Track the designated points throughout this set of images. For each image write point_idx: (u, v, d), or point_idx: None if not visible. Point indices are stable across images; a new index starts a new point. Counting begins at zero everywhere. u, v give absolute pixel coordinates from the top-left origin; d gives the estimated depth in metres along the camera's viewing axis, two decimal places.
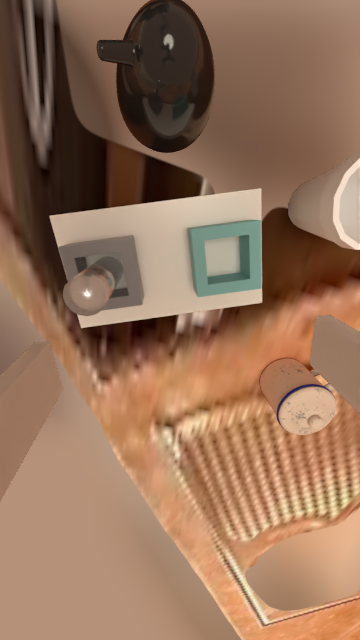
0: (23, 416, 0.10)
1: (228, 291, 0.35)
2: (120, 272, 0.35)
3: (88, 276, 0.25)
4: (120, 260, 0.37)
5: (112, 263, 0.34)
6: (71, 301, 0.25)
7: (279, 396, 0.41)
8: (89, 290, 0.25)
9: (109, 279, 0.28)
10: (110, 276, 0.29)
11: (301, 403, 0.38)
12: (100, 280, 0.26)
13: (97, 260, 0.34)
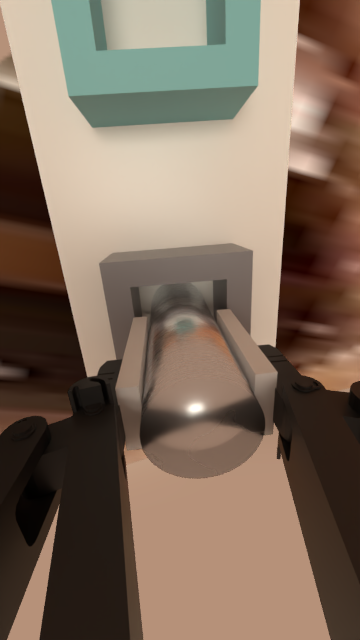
0: None
1: None
2: (178, 288, 0.17)
3: (142, 416, 0.08)
4: None
5: (156, 303, 0.17)
6: (213, 463, 0.09)
7: None
8: (184, 420, 0.08)
9: (173, 334, 0.11)
10: (170, 326, 0.12)
11: None
12: (160, 382, 0.08)
13: None
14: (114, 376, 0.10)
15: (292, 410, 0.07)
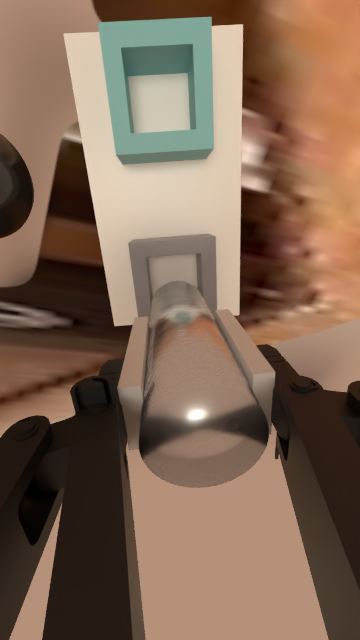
0: None
1: (210, 90, 0.22)
2: (178, 289, 0.17)
3: (141, 424, 0.08)
4: (162, 258, 0.31)
5: (156, 305, 0.16)
6: (215, 472, 0.09)
7: None
8: (185, 428, 0.08)
9: (174, 337, 0.11)
10: (170, 329, 0.12)
11: None
12: (160, 388, 0.08)
13: None
14: (116, 376, 0.11)
15: (290, 410, 0.07)
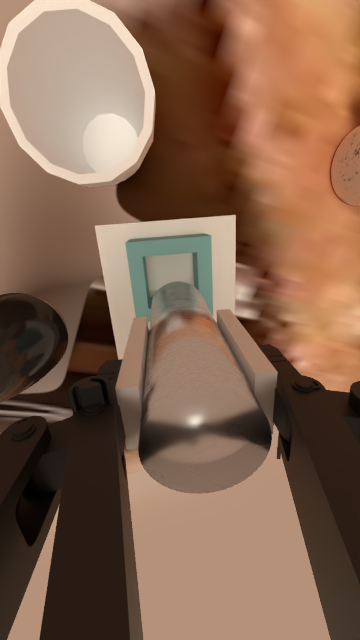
0: None
1: (210, 279, 0.28)
2: (178, 290, 0.17)
3: (141, 429, 0.08)
4: None
5: (156, 306, 0.16)
6: (216, 477, 0.08)
7: None
8: (185, 433, 0.08)
9: (174, 340, 0.10)
10: (170, 331, 0.11)
11: None
12: (160, 392, 0.08)
13: None
14: (114, 376, 0.10)
15: (292, 410, 0.07)
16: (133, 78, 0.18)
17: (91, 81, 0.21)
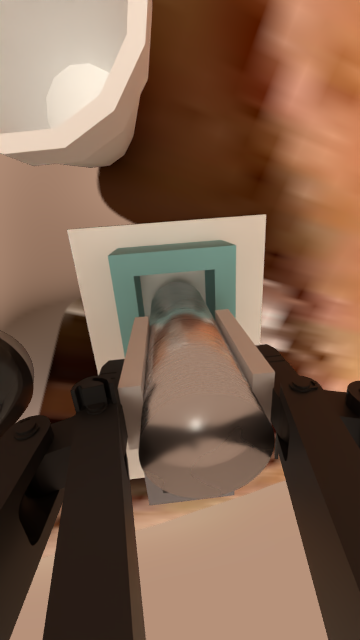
0: None
1: (232, 307, 0.19)
2: (178, 291, 0.17)
3: (141, 433, 0.08)
4: None
5: (156, 307, 0.16)
6: (218, 482, 0.08)
7: None
8: (186, 437, 0.07)
9: (174, 341, 0.10)
10: (170, 332, 0.11)
11: None
12: (161, 396, 0.08)
13: None
14: (116, 376, 0.11)
15: (289, 410, 0.07)
16: None
17: None
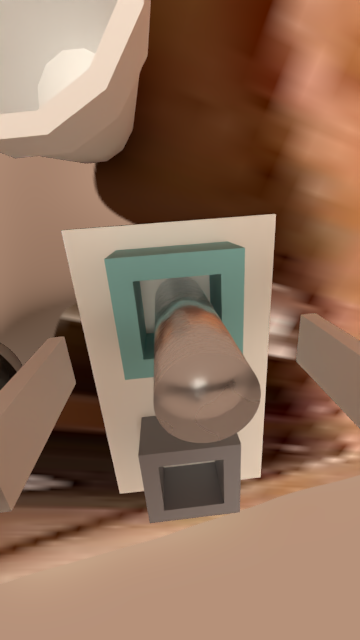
0: (42, 407, 0.10)
1: (240, 315, 0.18)
2: (180, 282, 0.19)
3: (156, 386, 0.10)
4: None
5: (161, 296, 0.18)
6: (216, 429, 0.10)
7: None
8: (191, 389, 0.10)
9: (179, 320, 0.12)
10: (175, 314, 0.13)
11: None
12: (171, 357, 0.10)
13: None
14: None
15: None
16: None
17: None
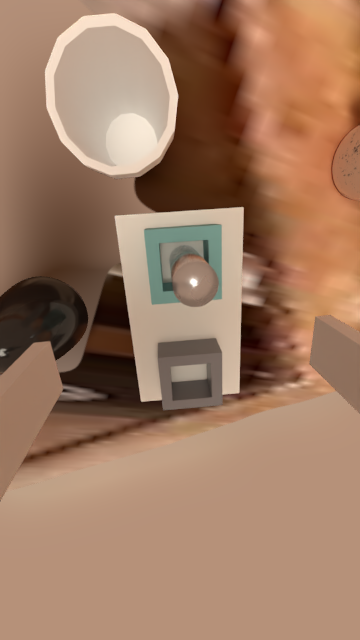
0: (23, 416, 0.10)
1: (219, 265, 0.31)
2: (185, 247, 0.32)
3: (173, 277, 0.23)
4: None
5: (173, 254, 0.31)
6: (199, 299, 0.23)
7: None
8: (188, 278, 0.23)
9: (184, 257, 0.25)
10: (182, 256, 0.26)
11: None
12: (180, 266, 0.23)
13: None
14: None
15: None
16: (158, 83, 0.21)
17: (118, 85, 0.24)
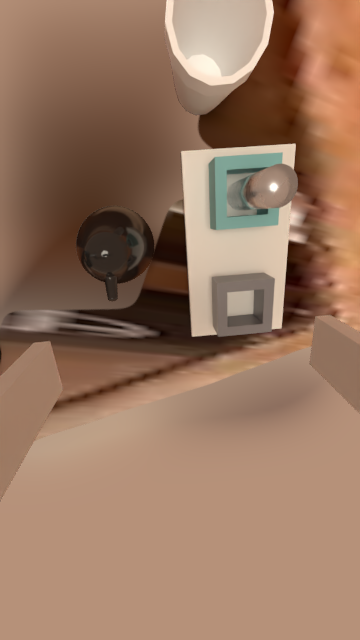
0: (23, 416, 0.10)
1: None
2: None
3: (260, 179, 0.26)
4: None
5: (237, 182, 0.35)
6: (280, 200, 0.27)
7: None
8: (273, 180, 0.26)
9: None
10: None
11: None
12: (265, 170, 0.27)
13: (232, 199, 0.36)
14: None
15: None
16: (249, 8, 0.25)
17: (204, 19, 0.28)
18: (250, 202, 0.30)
